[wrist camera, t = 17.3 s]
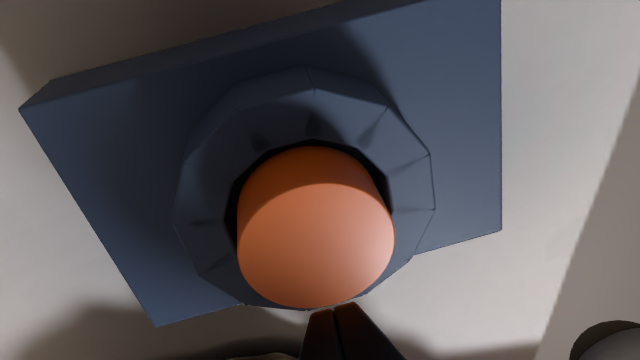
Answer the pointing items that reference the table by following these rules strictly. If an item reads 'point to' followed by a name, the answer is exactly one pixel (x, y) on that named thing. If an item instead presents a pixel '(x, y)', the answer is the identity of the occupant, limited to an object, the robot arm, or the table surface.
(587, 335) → the molecular model
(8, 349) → the table surface
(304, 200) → the orange push button
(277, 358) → the figurine
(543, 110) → the table surface
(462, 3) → the base
